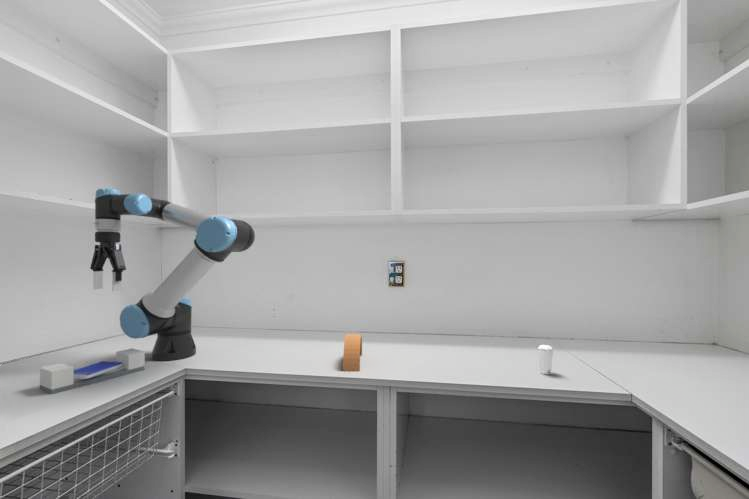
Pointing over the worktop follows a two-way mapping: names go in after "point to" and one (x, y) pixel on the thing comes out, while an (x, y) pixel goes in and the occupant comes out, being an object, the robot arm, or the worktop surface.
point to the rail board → (62, 377)
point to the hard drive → (95, 369)
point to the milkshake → (545, 358)
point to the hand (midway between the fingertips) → (107, 289)
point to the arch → (352, 352)
